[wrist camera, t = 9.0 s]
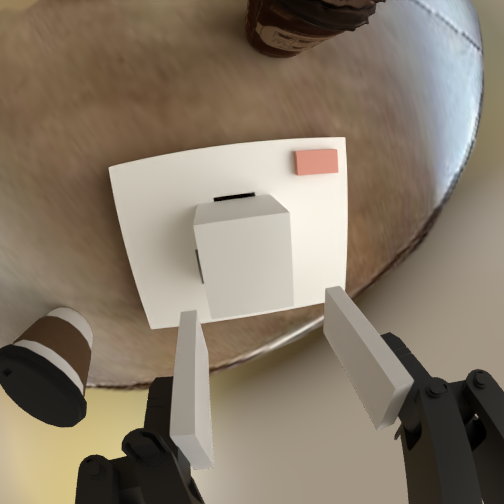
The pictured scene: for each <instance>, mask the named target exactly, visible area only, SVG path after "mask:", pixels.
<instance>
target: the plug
mask: <svg viewBox="0 0 504 504" xmlns="http://www.w3.org/2000/svg"><path fill="white" fill-rule="evenodd" d="M193 227H194V232H195V238H196V244H197V249H198V254H199V260H200V265H201V270H202V275H203V280H204V285H205V290H206V295H207V300H208V304H209V309H210V314H211V318H212V319H219V318H226V317H232V316H239V315H245V314H251V313H257V312H263V311H269V310H275V309H281V308H286V307H292V306H294V292H293V266H292V244H291V226H290V212H289V211H288V210H287V209H286V208H285V207H284V206H282V205H281V204H280V203H279V202H278V201H277V200H276V199H275V198H274V197H273V196H271V195H262V196H254V197H246V198H238V199H230V200H224V201H217V202H210V203H203V204H197V209H196V214H195V219H194V225H193Z"/></svg>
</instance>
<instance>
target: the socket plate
mask: <svg viewBox="0 0 504 504" xmlns="http://www.w3.org/2000/svg"><path fill="white" fill-rule="evenodd" d="M108 168H109V174H110V179H111V185H112V190H113V195H114V200H115V205H116V210H117V214H118V219H119V223H120V227H121V231H122V235H123V239H124V243H125V247H126V251H127V255H128V258H129V262H130V265H131V269H132V272H133V276H134V279H135V282H136V285H137V289H138V292H139V295H140V298H141V301H142V304H143V307H144V310H145V313H146V316H147V319H148V321H149V324H150V327H151V329H158V328H168V327H176V326H179V322H180V314H181V312H184V311H191V310H197V312H198V316H199V320H200V323H208V322H215V321H222V320H229V319H235V318H242V317H248V316H254V315H260V314H266V313H271V312H277V311H283V310H288V309H293V308H299V307H304V306H309V305H314V304H319V303H324V302H325V288H330V287H335V286H340V287H341V288H342V289H343V290H344V291H345V278H346V258H347V165H346V145H345V137H319V138H295V139H280V140H267V141H256V142H246V143H237V144H228V145H220V146H213V147H206V148H199V149H193V150H187V151H181V152H175V153H170V154H164V155H159V156H154V157H149V158H144V159H140V160H135V161H131V162H126V163H122V164H118V165H115V166H111V167H108ZM244 193H251V197H254V196H262V195H271V196H273V197H274V198H275V199H276V200H277V201H278V202H279V203H280V204H281V205H282V206H284V207H285V208H286V209H287V210H288V211H289V212H290V226H291V244H292V266H293V292H294V306H292V307H286V308H281V309H275V310H269V311H263V312H257V313H251V314H245V315H239V316H232V317H226V318H219V319H212V318H211V314H210V309H209V304H208V300H207V295H206V290H205V285H204V280H203V275H202V270H201V265H200V260H199V254H198V249H197V244H196V238H195V232H194V227H193V225H194V219H195V214H196V209H197V204H203V203H210V202H214V198H215V197H222V196H229V195H236V194H244Z"/></svg>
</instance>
